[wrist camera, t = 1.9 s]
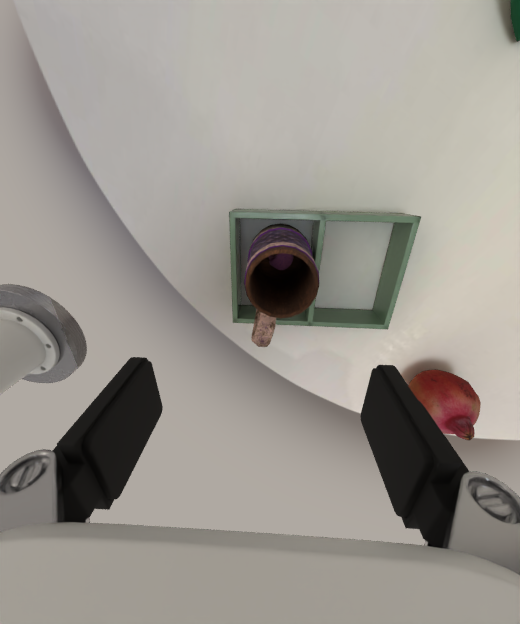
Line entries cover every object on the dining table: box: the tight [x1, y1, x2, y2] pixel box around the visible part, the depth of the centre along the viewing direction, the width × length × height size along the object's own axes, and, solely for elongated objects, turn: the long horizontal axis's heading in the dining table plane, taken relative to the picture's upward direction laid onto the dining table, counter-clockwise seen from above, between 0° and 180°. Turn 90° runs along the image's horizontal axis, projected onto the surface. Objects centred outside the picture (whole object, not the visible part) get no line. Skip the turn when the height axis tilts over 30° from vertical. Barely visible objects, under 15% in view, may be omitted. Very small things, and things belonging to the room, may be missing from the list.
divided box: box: [229, 209, 421, 329], centre depth 29 cm, size 19×13×4 cm
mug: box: [244, 224, 319, 347], centre depth 25 cm, size 10×7×12 cm
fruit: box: [408, 370, 480, 440], centre depth 33 cm, size 8×8×10 cm
